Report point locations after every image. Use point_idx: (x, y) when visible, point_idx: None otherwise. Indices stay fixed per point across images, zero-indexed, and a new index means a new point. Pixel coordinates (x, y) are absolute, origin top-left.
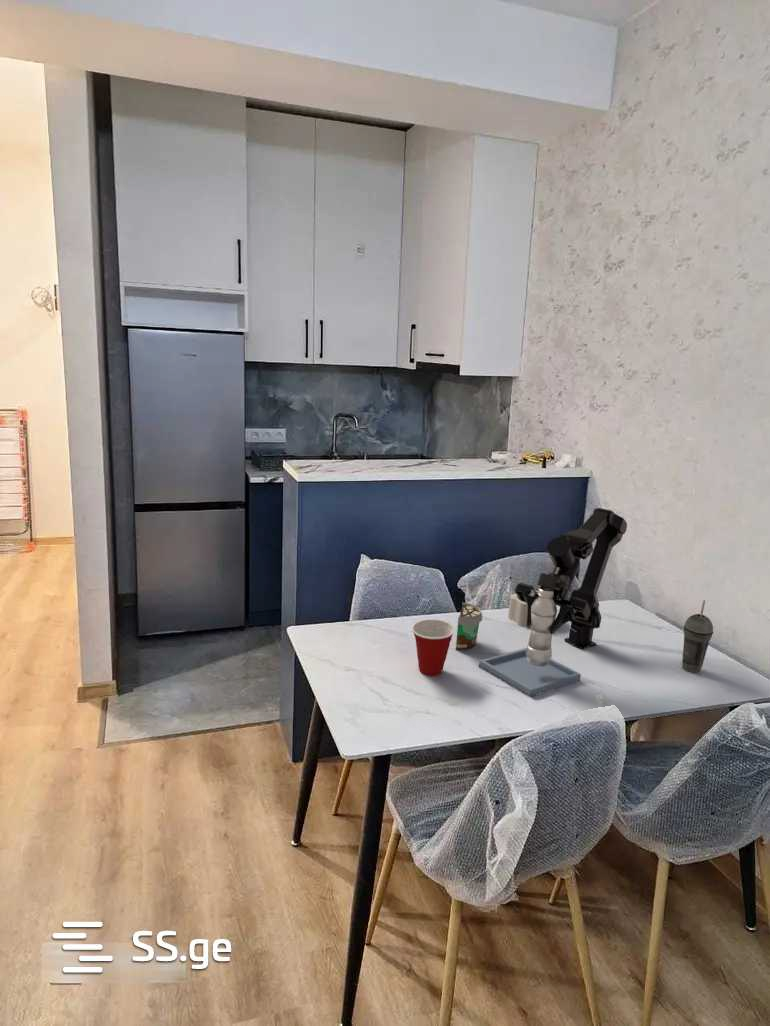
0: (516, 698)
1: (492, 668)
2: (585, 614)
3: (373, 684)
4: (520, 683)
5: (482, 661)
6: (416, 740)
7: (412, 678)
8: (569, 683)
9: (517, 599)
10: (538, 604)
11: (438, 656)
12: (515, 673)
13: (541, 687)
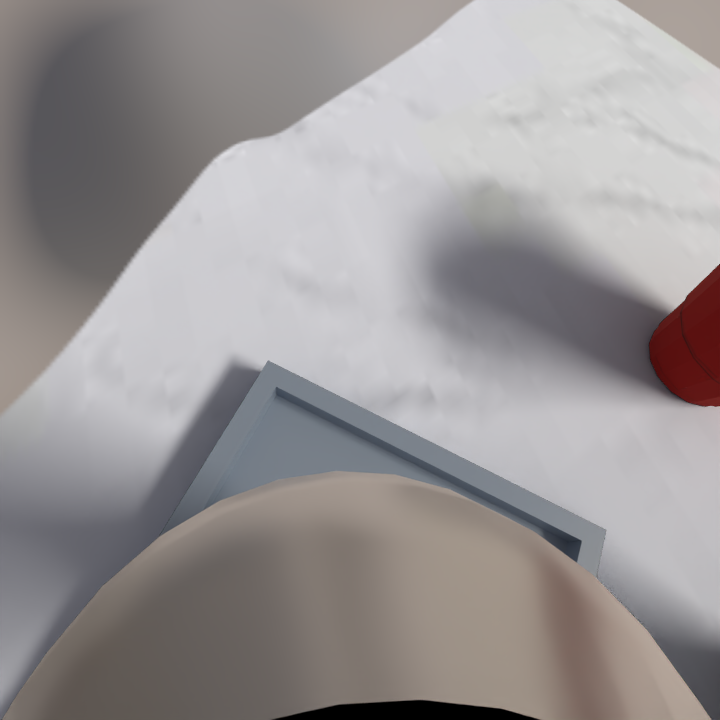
0: (316, 333)
1: (510, 482)
2: None
3: None
4: (331, 398)
5: (588, 526)
6: (460, 15)
7: (688, 275)
8: None
9: None
10: (524, 565)
11: (714, 272)
12: None
13: (227, 429)
